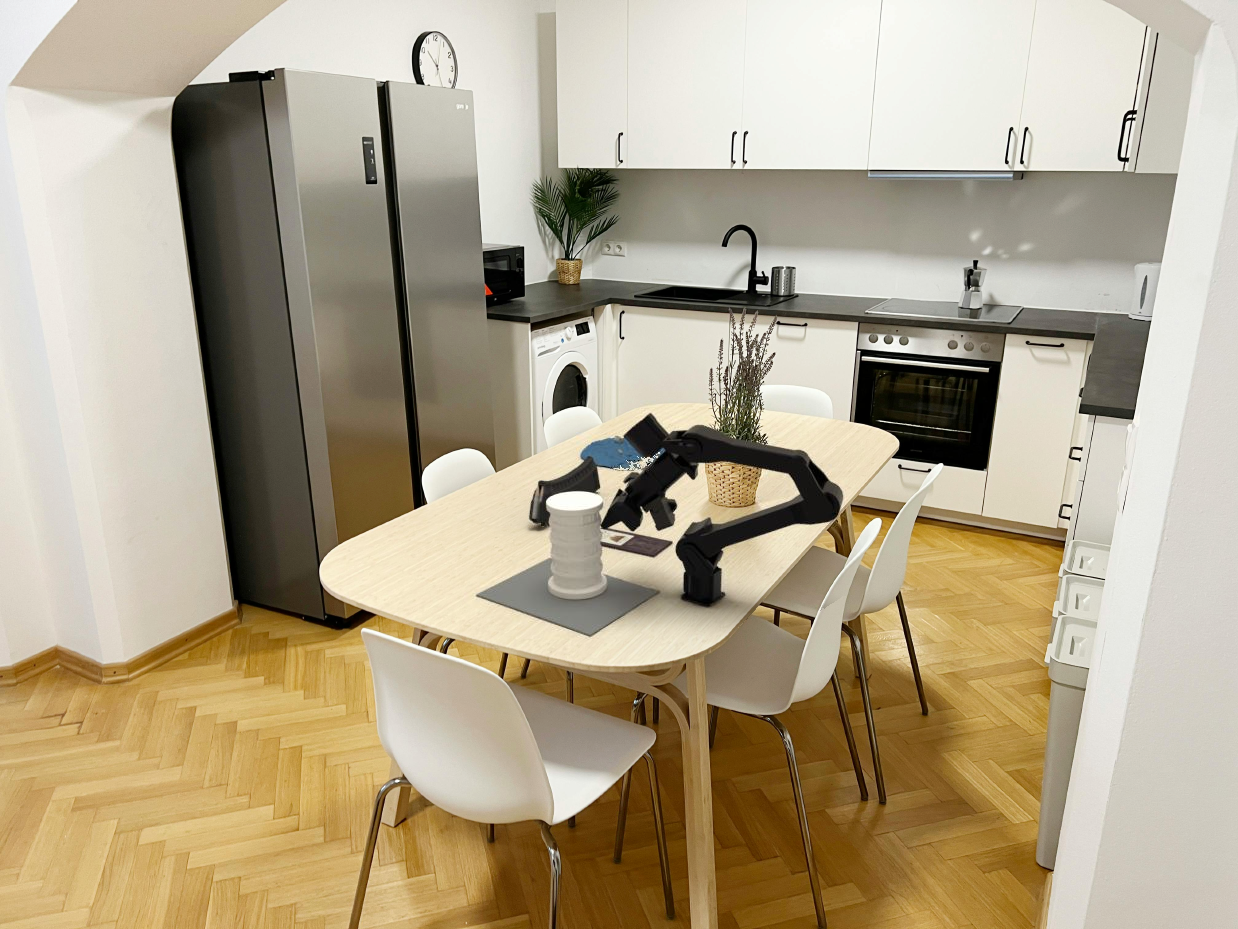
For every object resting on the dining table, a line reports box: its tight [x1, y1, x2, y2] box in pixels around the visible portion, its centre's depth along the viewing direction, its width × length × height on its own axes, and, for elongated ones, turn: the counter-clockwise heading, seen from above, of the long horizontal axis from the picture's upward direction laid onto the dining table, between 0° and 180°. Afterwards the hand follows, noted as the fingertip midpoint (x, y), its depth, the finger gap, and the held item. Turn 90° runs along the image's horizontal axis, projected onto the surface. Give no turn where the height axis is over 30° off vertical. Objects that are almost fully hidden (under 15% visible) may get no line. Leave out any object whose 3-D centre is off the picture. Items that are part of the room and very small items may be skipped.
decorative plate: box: [580, 435, 665, 470], centre depth 263 cm, size 30×30×5 cm
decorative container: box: [546, 491, 607, 600], centre depth 173 cm, size 12×12×18 cm
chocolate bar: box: [600, 527, 673, 559], centre depth 198 cm, size 9×1×18 cm
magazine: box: [528, 456, 601, 527], centre depth 218 cm, size 17×3×30 cm
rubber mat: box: [475, 557, 660, 637], centre depth 173 cm, size 28×22×1 cm
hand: (602, 527), depth 172 cm, fingers closed
